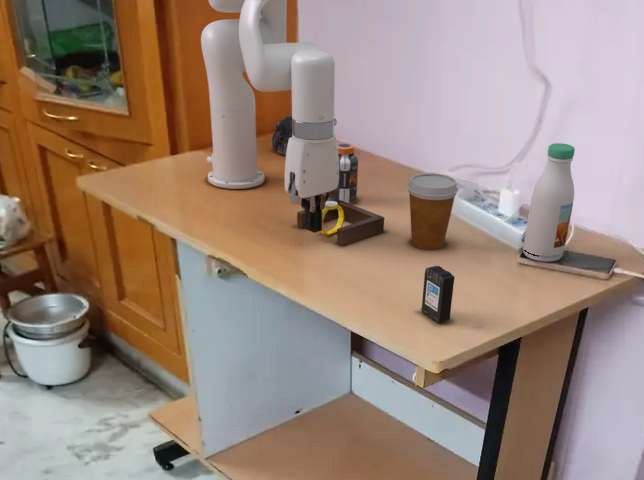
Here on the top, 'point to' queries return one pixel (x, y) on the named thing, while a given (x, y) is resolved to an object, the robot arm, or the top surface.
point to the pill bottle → (346, 174)
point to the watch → (333, 205)
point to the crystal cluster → (282, 135)
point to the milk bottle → (551, 206)
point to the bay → (361, 219)
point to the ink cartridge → (437, 293)
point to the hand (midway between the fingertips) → (313, 229)
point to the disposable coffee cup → (430, 208)
